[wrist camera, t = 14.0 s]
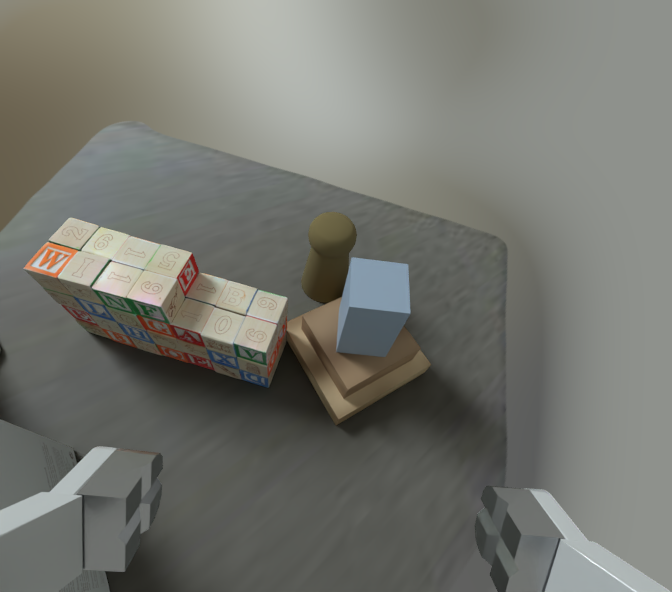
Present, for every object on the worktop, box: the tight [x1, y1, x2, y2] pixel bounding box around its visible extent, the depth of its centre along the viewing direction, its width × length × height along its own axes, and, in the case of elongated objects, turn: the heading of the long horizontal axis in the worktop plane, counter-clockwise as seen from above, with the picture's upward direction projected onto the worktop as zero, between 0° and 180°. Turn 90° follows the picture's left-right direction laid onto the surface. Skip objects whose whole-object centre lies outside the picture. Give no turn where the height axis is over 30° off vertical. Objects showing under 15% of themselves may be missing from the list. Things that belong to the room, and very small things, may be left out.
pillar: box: [336, 257, 410, 357], centre depth 36 cm, size 5×5×9 cm
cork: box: [301, 212, 357, 303], centre depth 44 cm, size 6×6×11 cm
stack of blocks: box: [24, 218, 288, 388], centre depth 38 cm, size 21×6×12 cm, turn 75°
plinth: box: [287, 297, 431, 425], centre depth 42 cm, size 12×12×6 cm
